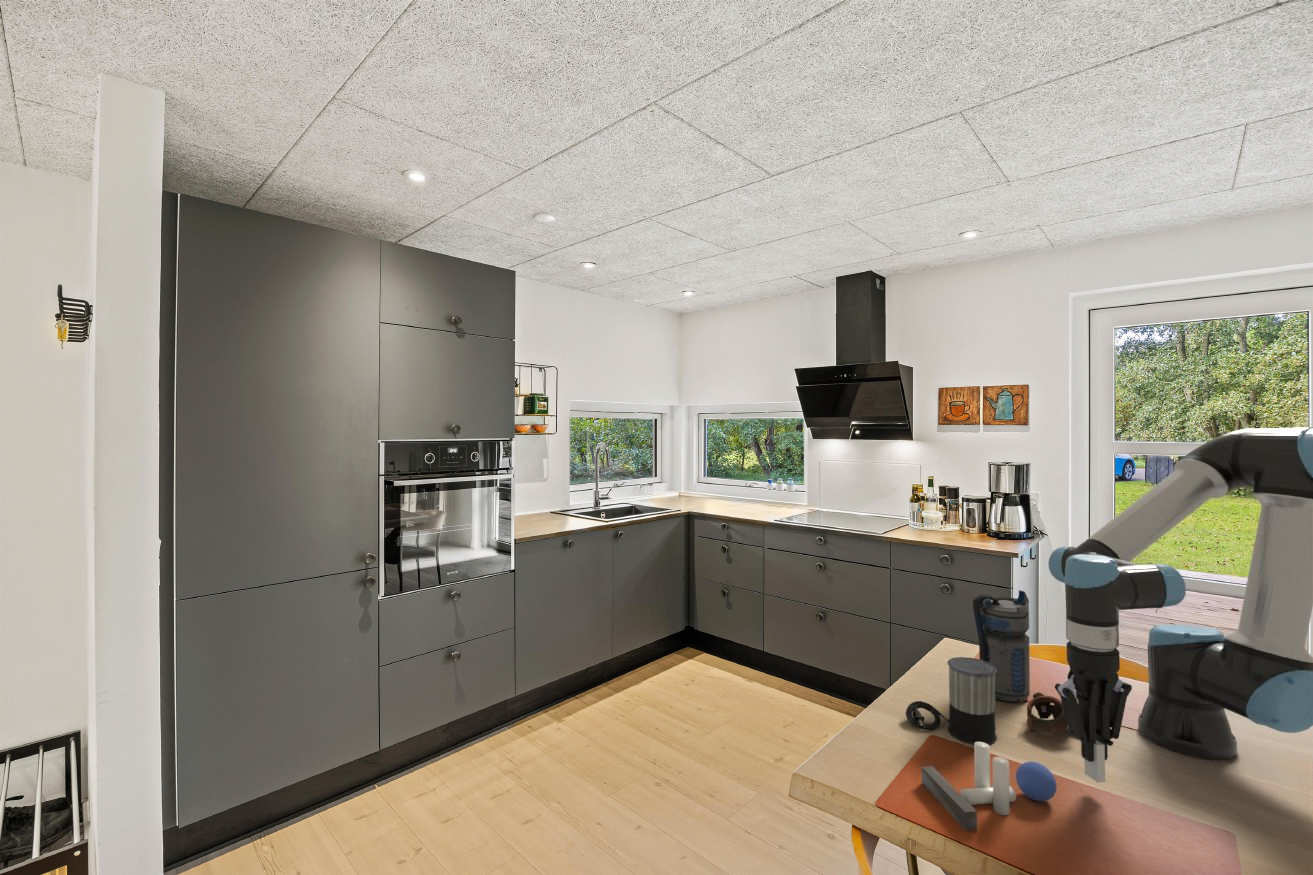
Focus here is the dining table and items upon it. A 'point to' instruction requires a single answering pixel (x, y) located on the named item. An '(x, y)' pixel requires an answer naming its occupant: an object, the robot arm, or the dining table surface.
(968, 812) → the back wall
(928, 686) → the dining table surface
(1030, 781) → the ball
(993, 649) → the beverage bottle
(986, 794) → the front pin
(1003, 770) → the pin
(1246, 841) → the dining table surface
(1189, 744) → the robot arm
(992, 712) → the milk frother
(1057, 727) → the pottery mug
